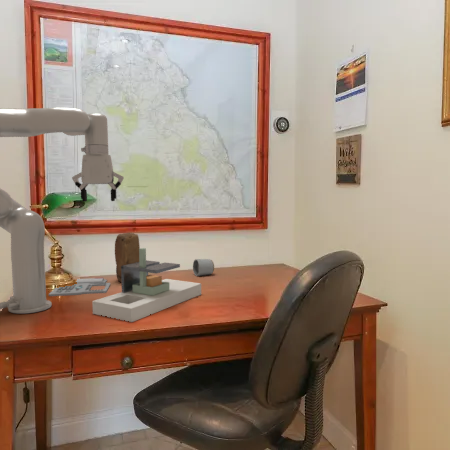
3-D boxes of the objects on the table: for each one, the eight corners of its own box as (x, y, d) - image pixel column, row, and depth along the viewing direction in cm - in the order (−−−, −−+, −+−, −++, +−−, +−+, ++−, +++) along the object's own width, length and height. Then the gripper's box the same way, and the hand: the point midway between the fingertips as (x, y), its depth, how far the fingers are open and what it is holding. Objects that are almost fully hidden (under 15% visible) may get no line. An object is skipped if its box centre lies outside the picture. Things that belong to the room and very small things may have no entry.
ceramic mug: (215, 275, 181) (215, 258, 181) (199, 277, 178) (198, 260, 177) (205, 271, 190) (205, 256, 190) (189, 273, 187) (189, 257, 186)
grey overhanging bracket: (157, 298, 128) (156, 270, 128) (121, 292, 136) (121, 265, 135) (180, 290, 139) (179, 264, 138) (146, 285, 146) (145, 260, 145)
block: (142, 282, 168) (141, 234, 167) (125, 285, 163) (124, 235, 162) (129, 278, 177) (128, 231, 175) (113, 280, 172) (111, 233, 170)
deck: (131, 322, 118) (131, 308, 118) (92, 313, 126) (92, 301, 126) (201, 294, 149) (201, 283, 149) (166, 289, 157) (166, 278, 157)
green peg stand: (152, 295, 131) (151, 249, 130) (131, 292, 135) (130, 247, 134) (169, 289, 139) (168, 246, 137) (149, 286, 143) (149, 244, 142)
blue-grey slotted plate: (62, 277, 170) (112, 275, 173) (63, 283, 170) (112, 281, 173) (48, 290, 147) (106, 287, 150) (48, 297, 147) (106, 294, 151)
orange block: (152, 294, 134) (151, 279, 133) (140, 292, 136) (140, 277, 136) (161, 290, 138) (161, 276, 138) (150, 289, 141) (150, 274, 140)
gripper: (67, 150, 137) (70, 201, 138) (120, 150, 138) (122, 201, 139) (74, 152, 144) (76, 201, 146) (124, 152, 145) (126, 200, 147)
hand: (98, 201), depth 142 cm, fingers open, 9 cm apart
